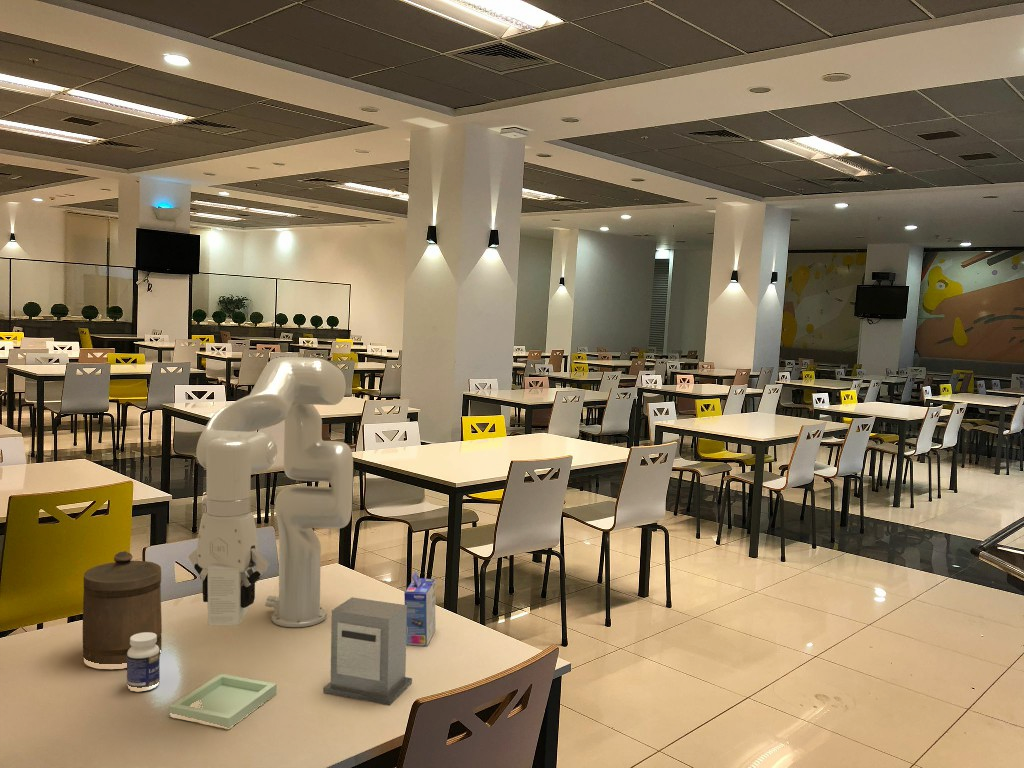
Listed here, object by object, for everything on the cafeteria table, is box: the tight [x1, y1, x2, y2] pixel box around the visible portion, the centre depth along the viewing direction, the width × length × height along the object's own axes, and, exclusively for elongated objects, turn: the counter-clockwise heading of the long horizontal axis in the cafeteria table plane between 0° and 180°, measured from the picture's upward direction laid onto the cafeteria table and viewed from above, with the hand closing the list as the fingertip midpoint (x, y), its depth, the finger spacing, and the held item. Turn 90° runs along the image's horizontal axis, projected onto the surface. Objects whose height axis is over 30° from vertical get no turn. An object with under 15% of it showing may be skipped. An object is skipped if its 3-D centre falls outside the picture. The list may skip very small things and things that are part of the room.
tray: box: [168, 673, 277, 728], centre depth 151 cm, size 12×14×2 cm
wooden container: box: [82, 550, 163, 664], centre depth 171 cm, size 15×15×22 cm
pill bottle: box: [126, 632, 161, 688], centre depth 158 cm, size 6×6×10 cm
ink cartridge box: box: [404, 572, 436, 647], centre depth 186 cm, size 10×6×14 cm, turn 174°
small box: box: [207, 565, 250, 626], centre depth 150 cm, size 8×6×10 cm
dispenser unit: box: [322, 596, 413, 706], centre depth 160 cm, size 14×10×16 cm
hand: (228, 601), depth 150 cm, fingers closed on small box, 7 cm apart
